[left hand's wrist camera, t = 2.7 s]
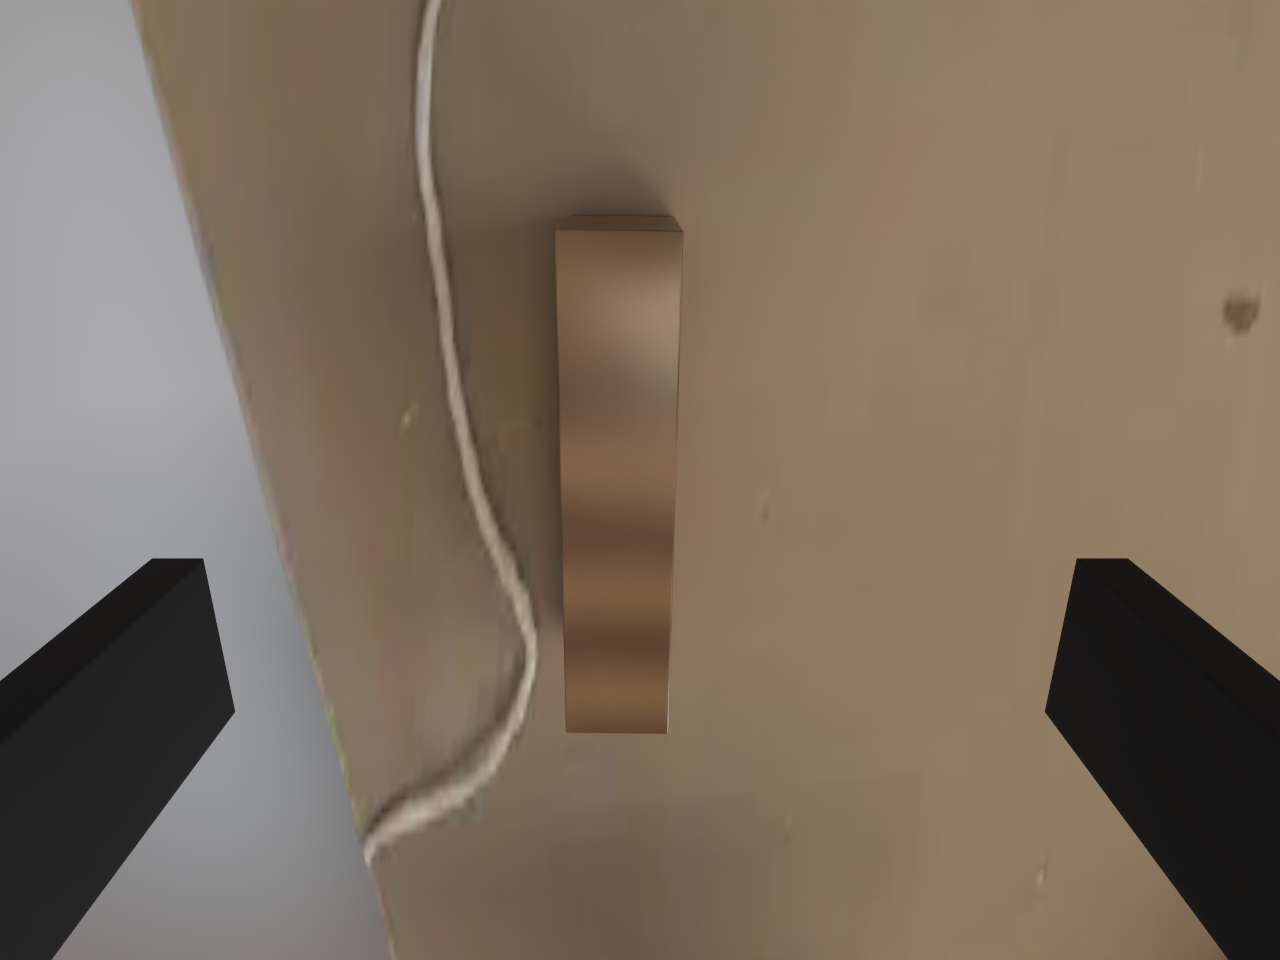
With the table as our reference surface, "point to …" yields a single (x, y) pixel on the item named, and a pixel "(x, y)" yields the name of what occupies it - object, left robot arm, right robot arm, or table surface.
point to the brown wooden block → (618, 465)
